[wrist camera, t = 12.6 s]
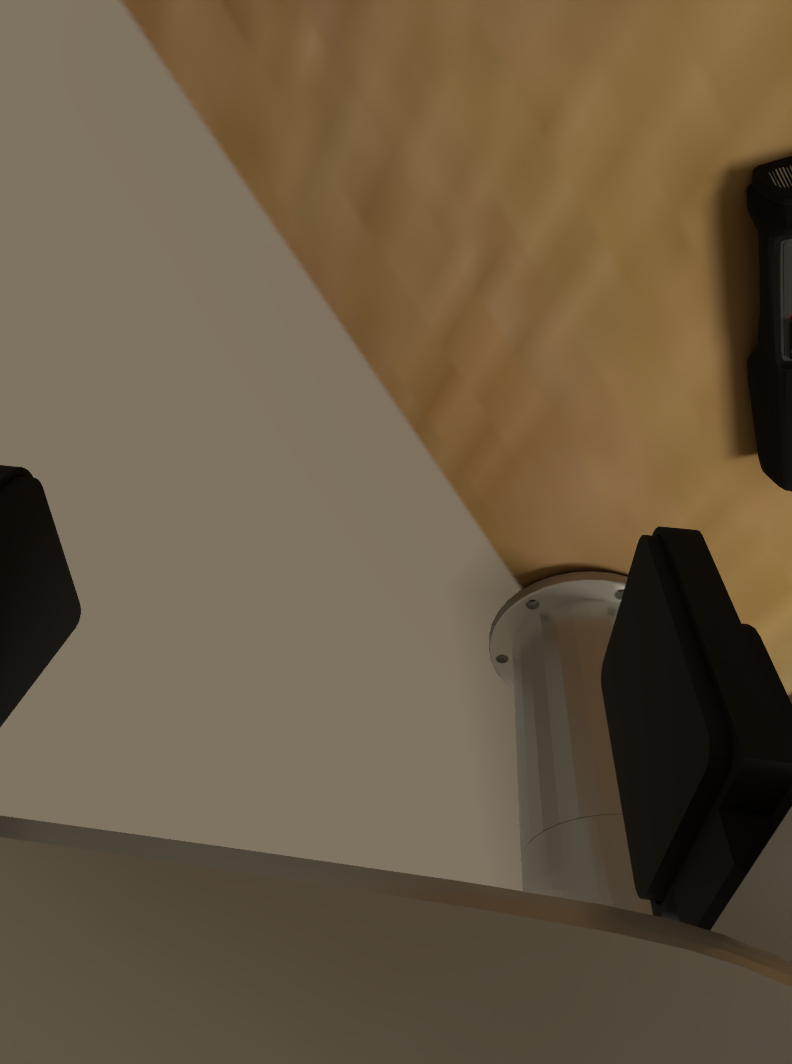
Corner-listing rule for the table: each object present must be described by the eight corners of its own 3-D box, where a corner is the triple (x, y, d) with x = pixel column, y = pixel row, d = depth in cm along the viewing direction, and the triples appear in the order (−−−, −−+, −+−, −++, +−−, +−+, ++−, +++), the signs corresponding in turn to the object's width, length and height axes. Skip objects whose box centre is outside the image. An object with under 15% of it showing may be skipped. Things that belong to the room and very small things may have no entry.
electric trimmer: (736, 467, 37) (755, 500, 35) (740, 168, 29) (765, 183, 26) (811, 454, 36) (835, 487, 34) (838, 141, 28) (874, 153, 25)
